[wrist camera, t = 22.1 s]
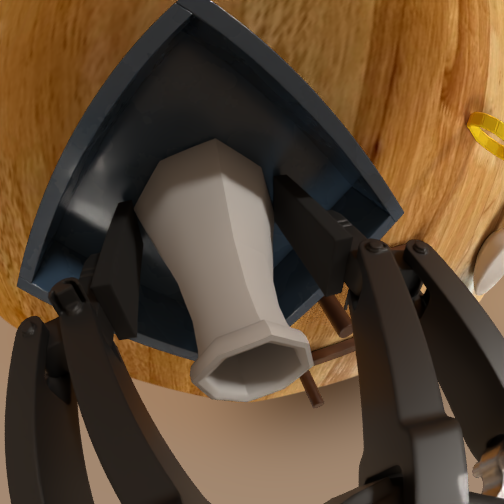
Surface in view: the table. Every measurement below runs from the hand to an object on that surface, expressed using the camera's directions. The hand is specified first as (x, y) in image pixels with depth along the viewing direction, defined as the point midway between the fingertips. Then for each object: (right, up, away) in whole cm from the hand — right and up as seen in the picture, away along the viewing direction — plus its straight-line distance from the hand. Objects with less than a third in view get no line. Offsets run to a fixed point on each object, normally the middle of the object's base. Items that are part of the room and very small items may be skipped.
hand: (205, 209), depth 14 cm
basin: (0, +1, +1) cm, 1 cm away
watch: (+23, +9, +3) cm, 24 cm away
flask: (0, 0, 0) cm, 0 cm away
